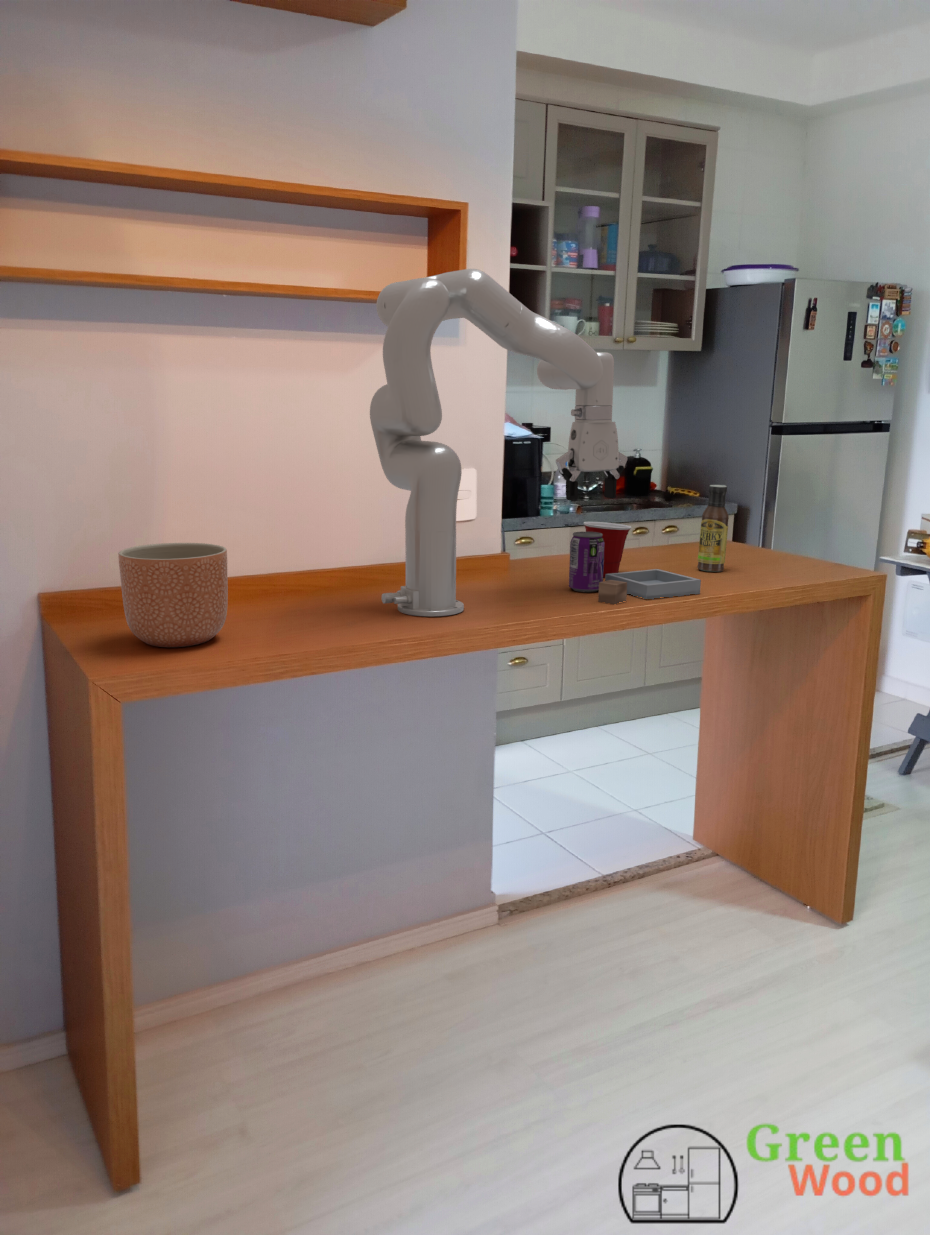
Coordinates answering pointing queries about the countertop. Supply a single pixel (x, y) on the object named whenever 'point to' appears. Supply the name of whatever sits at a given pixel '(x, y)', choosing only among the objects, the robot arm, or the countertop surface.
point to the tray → (656, 583)
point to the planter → (174, 592)
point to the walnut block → (612, 591)
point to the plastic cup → (610, 543)
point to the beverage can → (586, 561)
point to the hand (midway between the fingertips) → (591, 499)
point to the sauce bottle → (714, 531)
